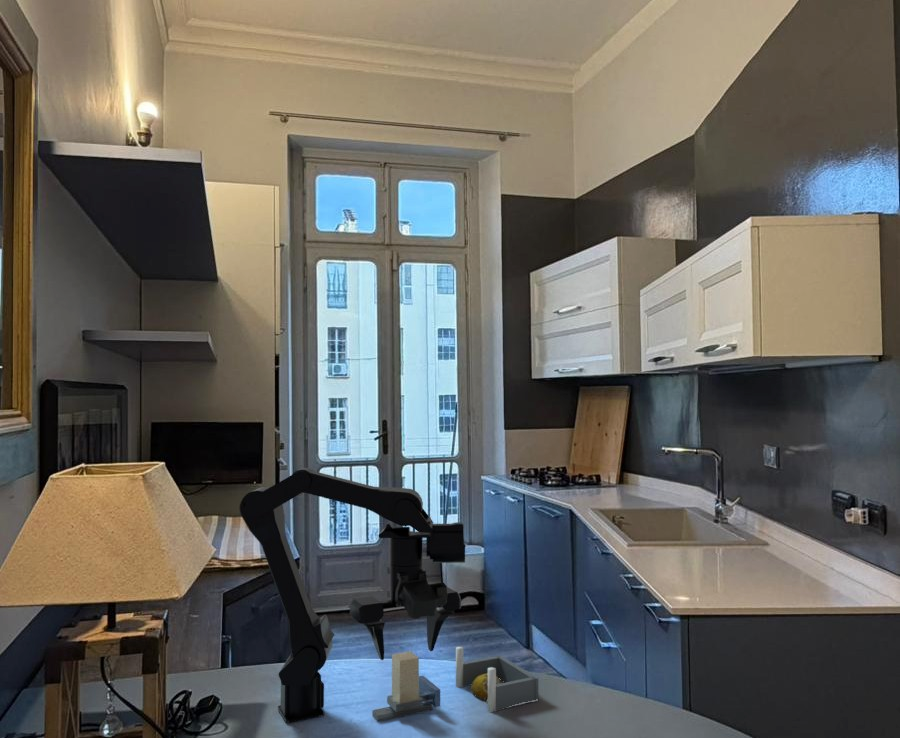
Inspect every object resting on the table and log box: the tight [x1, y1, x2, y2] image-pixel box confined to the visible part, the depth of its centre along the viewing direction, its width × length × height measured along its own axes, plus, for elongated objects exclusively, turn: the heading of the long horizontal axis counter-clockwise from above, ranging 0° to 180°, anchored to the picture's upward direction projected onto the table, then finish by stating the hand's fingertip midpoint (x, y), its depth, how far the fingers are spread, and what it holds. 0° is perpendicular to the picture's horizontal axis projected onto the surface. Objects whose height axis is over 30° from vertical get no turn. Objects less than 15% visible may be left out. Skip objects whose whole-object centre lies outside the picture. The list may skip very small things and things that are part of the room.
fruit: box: [470, 673, 502, 705], centre depth 127 cm, size 8×8×4 cm
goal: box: [455, 646, 540, 713], centre depth 128 cm, size 10×13×7 cm
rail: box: [372, 701, 433, 723], centre depth 120 cm, size 10×2×1 cm, turn 117°
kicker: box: [386, 650, 441, 712], centre depth 121 cm, size 8×7×8 cm
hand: (406, 654), depth 121 cm, fingers open, 9 cm apart
